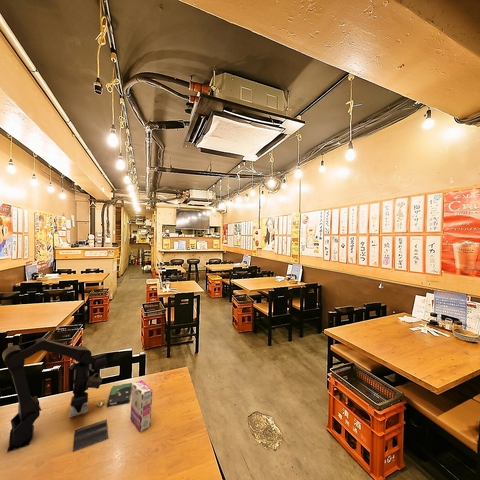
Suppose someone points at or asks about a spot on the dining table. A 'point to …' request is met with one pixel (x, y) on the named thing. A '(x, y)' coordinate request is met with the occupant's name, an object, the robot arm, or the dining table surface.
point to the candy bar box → (141, 405)
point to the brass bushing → (100, 403)
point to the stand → (90, 435)
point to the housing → (74, 412)
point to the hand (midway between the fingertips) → (79, 408)
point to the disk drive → (119, 395)
